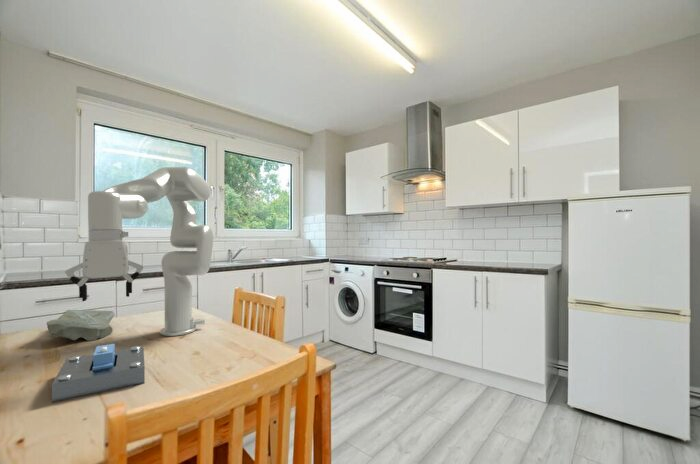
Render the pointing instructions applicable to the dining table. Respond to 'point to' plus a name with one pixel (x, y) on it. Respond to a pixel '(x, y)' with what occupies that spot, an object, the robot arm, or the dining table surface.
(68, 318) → the stone
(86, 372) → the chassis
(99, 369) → the servo
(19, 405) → the dining table surface
